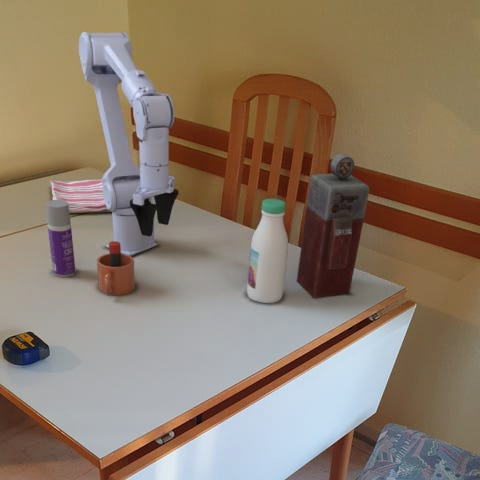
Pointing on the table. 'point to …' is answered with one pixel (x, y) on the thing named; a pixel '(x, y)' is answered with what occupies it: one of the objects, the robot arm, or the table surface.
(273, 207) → the milk bottle
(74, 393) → the table surface
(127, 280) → the orange coffee mug
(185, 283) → the table surface
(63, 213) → the container
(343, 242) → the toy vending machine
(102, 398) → the table surface
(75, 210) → the dish towel
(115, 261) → the marker
